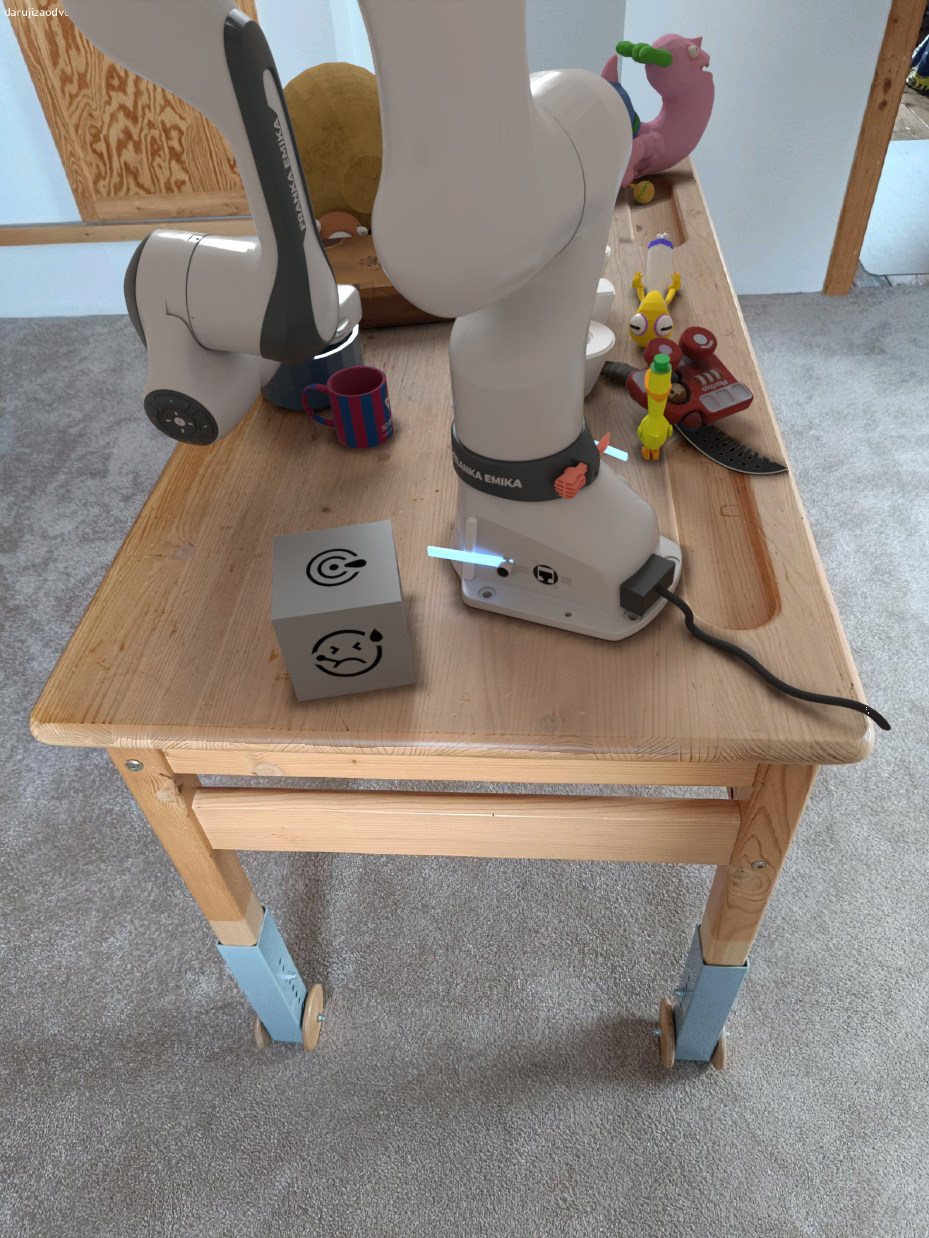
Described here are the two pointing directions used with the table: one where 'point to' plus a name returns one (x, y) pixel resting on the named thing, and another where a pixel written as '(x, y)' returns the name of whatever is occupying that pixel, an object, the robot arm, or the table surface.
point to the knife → (705, 434)
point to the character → (654, 294)
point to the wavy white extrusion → (599, 330)
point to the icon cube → (340, 610)
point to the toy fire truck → (692, 380)
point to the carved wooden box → (372, 284)
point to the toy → (665, 105)
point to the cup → (356, 406)
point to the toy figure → (656, 407)
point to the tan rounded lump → (338, 137)
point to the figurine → (339, 226)
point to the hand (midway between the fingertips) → (290, 278)
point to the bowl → (314, 374)
